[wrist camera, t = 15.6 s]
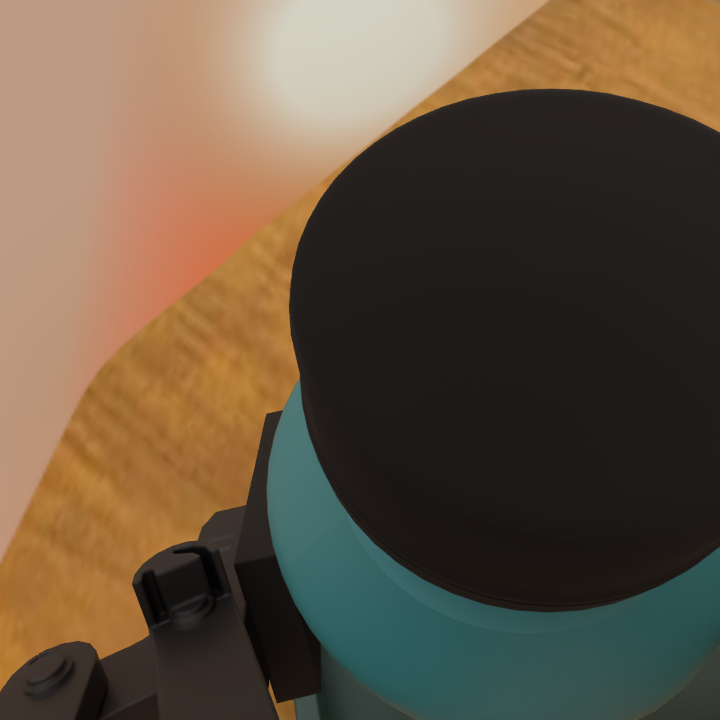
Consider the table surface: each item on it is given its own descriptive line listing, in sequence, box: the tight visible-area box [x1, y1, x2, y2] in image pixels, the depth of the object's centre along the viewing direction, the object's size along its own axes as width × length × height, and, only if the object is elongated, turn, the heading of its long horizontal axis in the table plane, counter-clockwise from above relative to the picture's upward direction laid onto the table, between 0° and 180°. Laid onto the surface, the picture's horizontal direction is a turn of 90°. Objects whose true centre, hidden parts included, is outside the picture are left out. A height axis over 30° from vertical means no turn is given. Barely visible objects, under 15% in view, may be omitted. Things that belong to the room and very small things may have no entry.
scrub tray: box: [294, 643, 720, 720], centre depth 22 cm, size 18×14×2 cm
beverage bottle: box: [267, 89, 720, 720], centre depth 13 cm, size 6×7×20 cm
